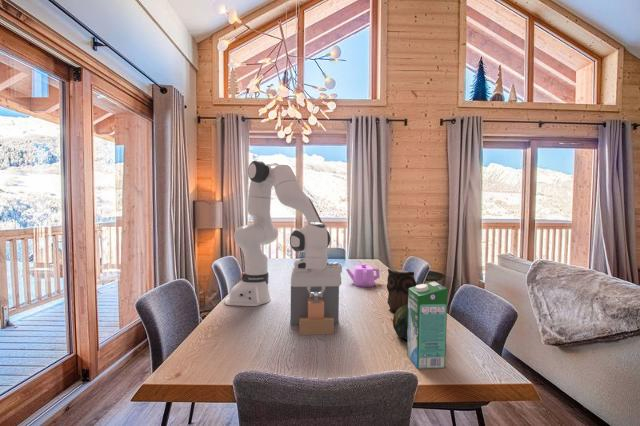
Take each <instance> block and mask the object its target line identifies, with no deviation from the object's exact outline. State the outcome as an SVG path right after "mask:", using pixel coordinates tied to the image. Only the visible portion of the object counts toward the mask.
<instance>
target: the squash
mask: <svg viewBox="0 0 640 426" xmlns="http://www.w3.org/2000/svg"><path fill="white" fill-rule="evenodd" d="M392 326H393V327H392V328H393V329H394V331H395V334H396V335H397V336H398V337H399V338H401V339H403V340H404V339H405V340H407V333H408V305H405V306H402V307H401V308H399V309H398V310H397V311H396V313H395V314H394V315H393V317H392Z"/></svg>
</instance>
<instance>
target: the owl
mask: <svg viewBox="0 0 640 426" xmlns="http://www.w3.org/2000/svg"><path fill="white" fill-rule="evenodd" d="M387 271H388V275H387V284H386V289H387V291H388V295H387V305H388V306H389V310H388V312H389V313H391V314H394V315H395V313H396V311H397V310H398V309H399V308H401V307H402V306H405V305H408V290H409V288H411V287H415V286H416V285H418V284H417V282H416V281H417V280H416V278H415V272H414V271H408V270H401V269H391V268H388V269H387Z"/></svg>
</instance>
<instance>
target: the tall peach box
mask: <svg viewBox="0 0 640 426" xmlns="http://www.w3.org/2000/svg"><path fill="white" fill-rule="evenodd" d="M313 293H314V295H313V296H314V297H313V298H310V299H308V319H321V318H324V302H323V299H322V298H318V293H317V292H313Z"/></svg>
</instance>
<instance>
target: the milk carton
mask: <svg viewBox="0 0 640 426" xmlns="http://www.w3.org/2000/svg"><path fill="white" fill-rule="evenodd" d="M448 292H449V291H448V288H447V287H445V286H443V285H442V284H440V283H439V282H436V281H435V280H434V281H430V282H426V283H418V284H417V285H416V286H415V287H411V288H409V290H408V333H407V339H406V340H407V343H406V346H407V347H406V356H407V357H408V358H409V359H410V361H411V362H412V364H413V365H414V366H415V368H416V369H418V370H421V369H422V370H423V369H424V370H425V369H427V370H428V369H446V359H447V358H446V357H447V354H446V353H447V321H448V319H447V318H448Z"/></svg>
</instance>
